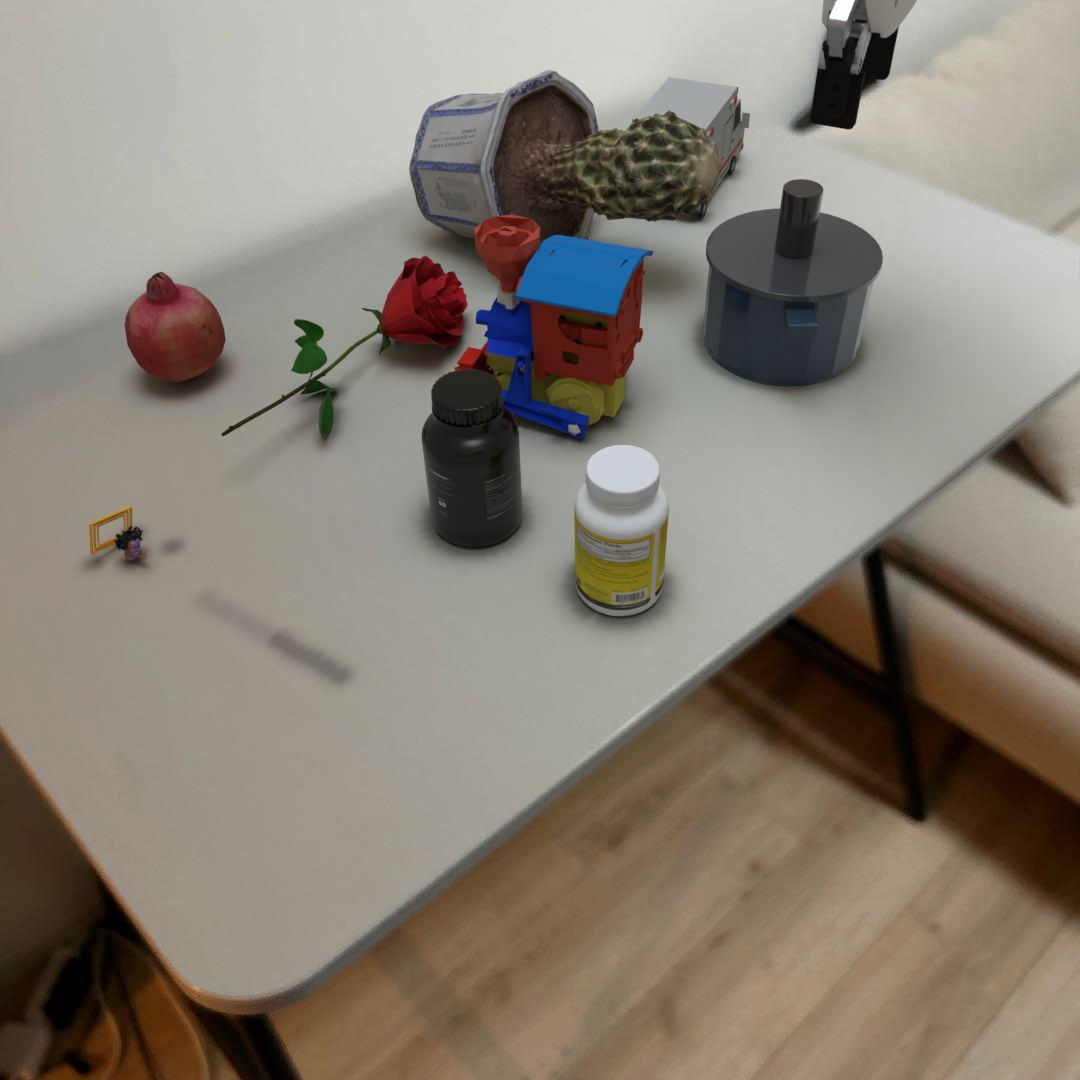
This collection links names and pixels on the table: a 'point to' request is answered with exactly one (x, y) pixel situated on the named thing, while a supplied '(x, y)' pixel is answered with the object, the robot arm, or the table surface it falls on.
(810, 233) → the lid
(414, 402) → the table surface
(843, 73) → the robot arm
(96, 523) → the golden frame ornament
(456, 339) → the flower
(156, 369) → the fruit
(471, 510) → the supplement bottle
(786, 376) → the pot
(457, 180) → the potted plant
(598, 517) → the pill bottle
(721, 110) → the toy vehicle
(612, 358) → the toy train
